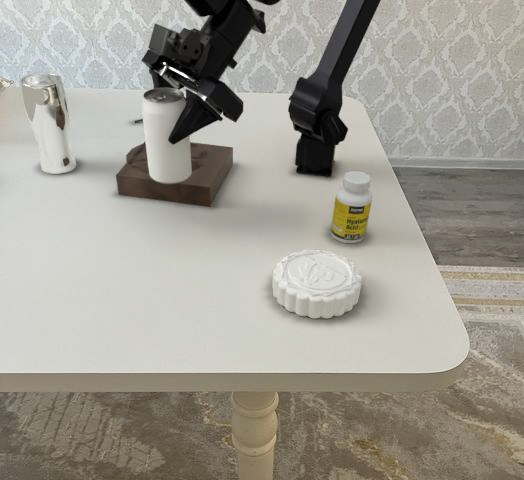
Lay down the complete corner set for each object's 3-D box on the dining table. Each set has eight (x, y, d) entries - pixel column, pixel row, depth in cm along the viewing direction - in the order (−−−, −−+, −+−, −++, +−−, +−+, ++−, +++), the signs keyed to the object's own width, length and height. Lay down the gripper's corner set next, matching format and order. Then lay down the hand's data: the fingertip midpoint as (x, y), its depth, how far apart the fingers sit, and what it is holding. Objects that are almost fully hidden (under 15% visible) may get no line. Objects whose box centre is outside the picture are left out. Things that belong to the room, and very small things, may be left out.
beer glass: (68, 177, 103) (50, 88, 93) (31, 172, 104) (10, 84, 94) (85, 160, 108) (70, 74, 98) (49, 156, 109) (31, 70, 99)
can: (200, 175, 90) (196, 94, 82) (168, 189, 87) (160, 107, 79) (173, 161, 94) (166, 83, 85) (140, 175, 90) (130, 94, 82)
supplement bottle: (342, 247, 90) (351, 188, 83) (323, 230, 93) (331, 172, 87) (371, 239, 92) (383, 181, 85) (352, 223, 95) (361, 165, 89)
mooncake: (253, 292, 81) (254, 270, 78) (308, 257, 87) (310, 236, 85) (323, 332, 75) (326, 310, 72) (376, 291, 82) (380, 270, 79)
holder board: (233, 165, 109) (233, 146, 107) (210, 207, 97) (209, 187, 95) (144, 154, 111) (142, 135, 109) (112, 193, 99) (109, 174, 97)
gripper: (146, -16, 82) (86, 82, 84) (224, 14, 71) (153, 126, 73) (197, 37, 91) (141, 125, 93) (272, 71, 80) (208, 169, 82)
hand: (158, 134), depth 85 cm, fingers closed on can, 6 cm apart
